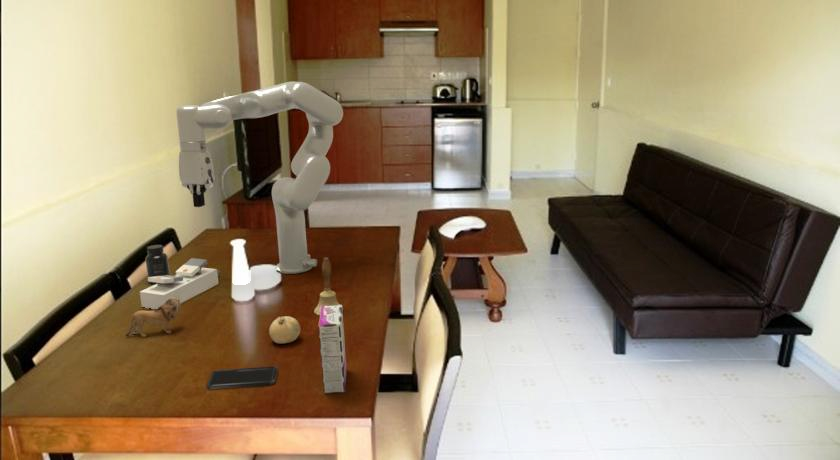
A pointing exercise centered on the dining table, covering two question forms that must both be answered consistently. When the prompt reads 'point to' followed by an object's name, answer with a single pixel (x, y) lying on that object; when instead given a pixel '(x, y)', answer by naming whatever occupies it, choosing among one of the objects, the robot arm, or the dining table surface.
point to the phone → (242, 377)
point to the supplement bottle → (156, 262)
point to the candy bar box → (332, 348)
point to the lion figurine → (156, 316)
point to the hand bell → (326, 289)
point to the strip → (179, 288)
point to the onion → (284, 330)
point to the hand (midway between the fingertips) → (199, 206)
